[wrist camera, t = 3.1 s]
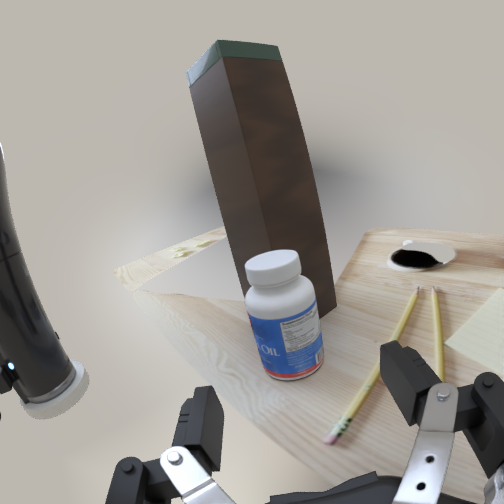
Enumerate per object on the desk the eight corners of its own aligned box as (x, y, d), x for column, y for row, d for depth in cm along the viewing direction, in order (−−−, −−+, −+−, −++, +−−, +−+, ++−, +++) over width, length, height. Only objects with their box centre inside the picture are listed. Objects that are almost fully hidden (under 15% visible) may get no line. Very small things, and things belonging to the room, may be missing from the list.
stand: (291, 338, 27) (222, 56, 20) (250, 319, 33) (189, 88, 26) (337, 305, 30) (282, 61, 23) (294, 293, 36) (243, 85, 29)
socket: (222, 56, 20) (217, 39, 19) (189, 88, 26) (185, 73, 25) (282, 61, 23) (277, 45, 23) (243, 85, 29) (239, 71, 29)
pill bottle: (254, 359, 25) (225, 262, 22) (304, 336, 26) (284, 242, 24) (280, 392, 20) (250, 280, 17) (337, 362, 21) (321, 252, 19)
